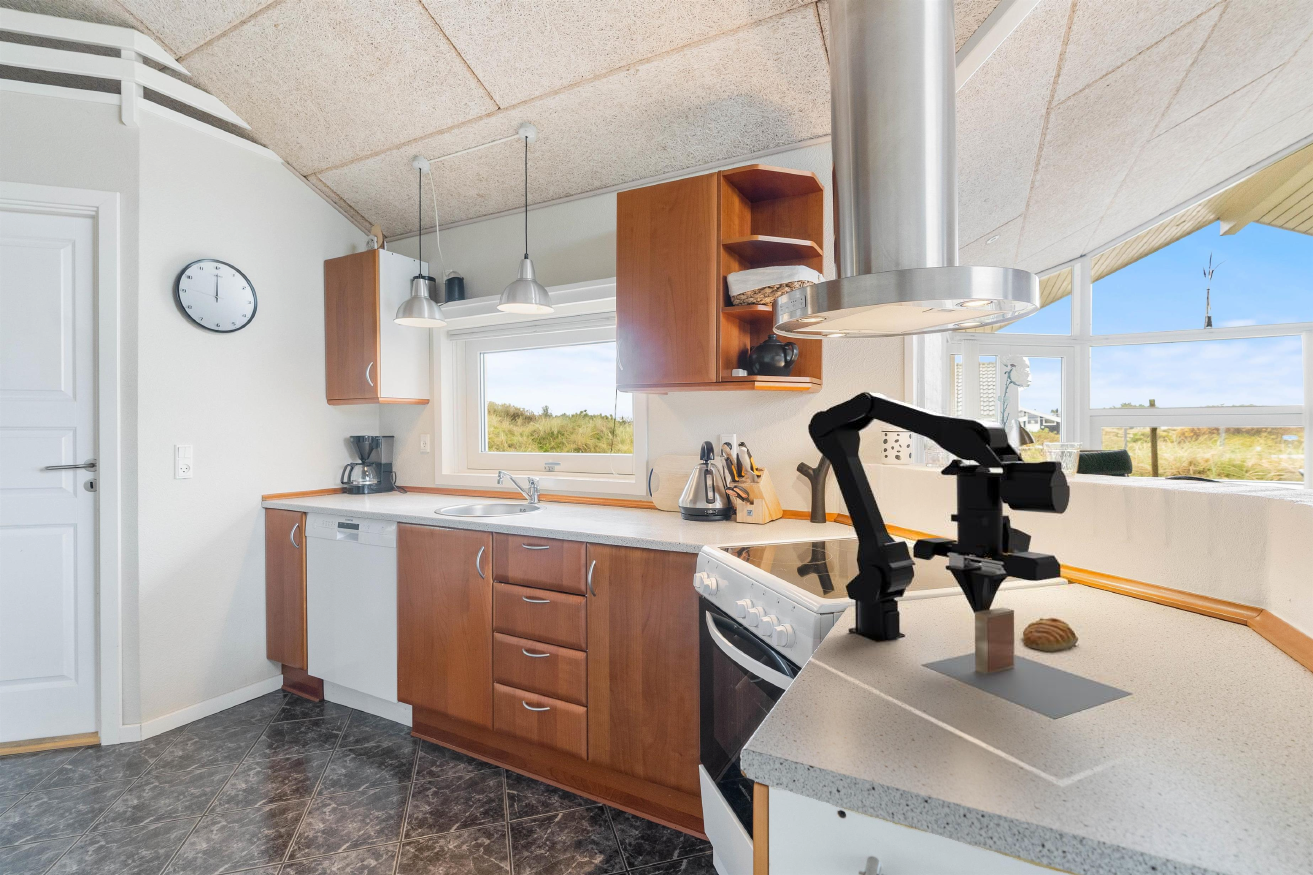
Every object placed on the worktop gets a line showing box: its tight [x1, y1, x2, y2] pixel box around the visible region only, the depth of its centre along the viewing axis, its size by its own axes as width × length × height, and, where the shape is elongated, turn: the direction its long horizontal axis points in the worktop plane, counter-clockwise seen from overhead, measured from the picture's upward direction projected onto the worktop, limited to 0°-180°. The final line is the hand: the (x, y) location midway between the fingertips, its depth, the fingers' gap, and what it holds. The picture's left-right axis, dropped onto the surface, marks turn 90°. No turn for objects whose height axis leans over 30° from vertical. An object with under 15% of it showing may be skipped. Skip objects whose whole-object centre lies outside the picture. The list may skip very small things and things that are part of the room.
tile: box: [974, 606, 1016, 675], centre depth 80 cm, size 2×6×8 cm, turn 115°
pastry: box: [1022, 617, 1079, 652], centre depth 91 cm, size 9×7×4 cm
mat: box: [921, 652, 1133, 720], centre depth 77 cm, size 18×16×1 cm
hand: (981, 617), depth 82 cm, fingers closed
